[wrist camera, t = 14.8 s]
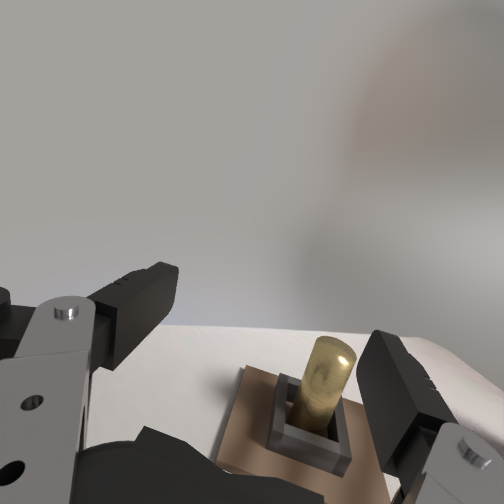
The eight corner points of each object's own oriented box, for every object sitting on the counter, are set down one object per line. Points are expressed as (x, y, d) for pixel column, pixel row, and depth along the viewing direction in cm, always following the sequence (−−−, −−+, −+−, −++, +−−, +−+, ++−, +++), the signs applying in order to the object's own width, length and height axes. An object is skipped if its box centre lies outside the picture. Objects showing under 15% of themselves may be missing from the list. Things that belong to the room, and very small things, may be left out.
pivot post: (285, 439, 29) (316, 355, 26) (287, 407, 34) (315, 331, 30) (323, 453, 29) (360, 370, 25) (320, 419, 33) (352, 343, 29)
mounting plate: (214, 466, 26) (221, 438, 25) (244, 370, 39) (250, 349, 38) (394, 537, 24) (411, 510, 23) (362, 410, 37) (372, 389, 36)
